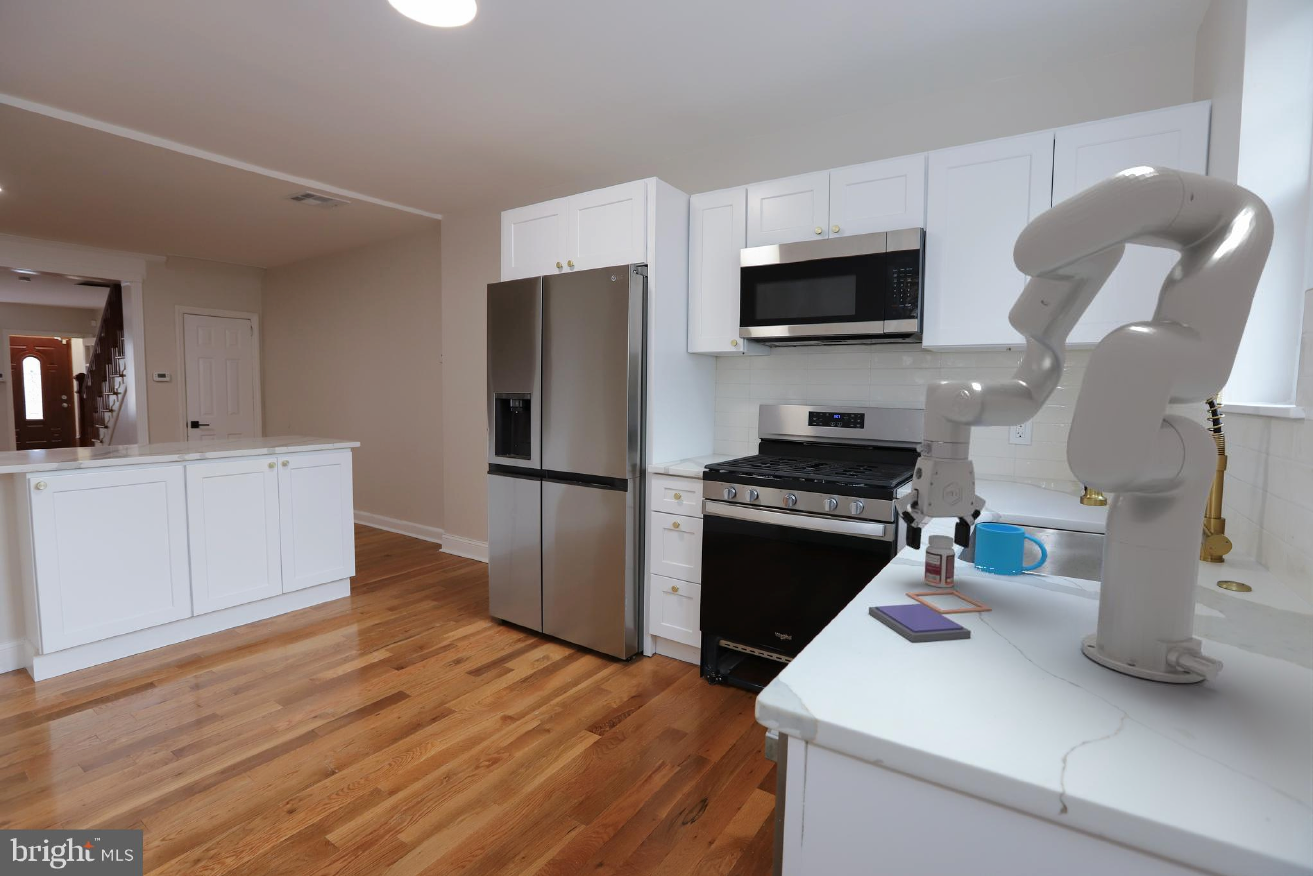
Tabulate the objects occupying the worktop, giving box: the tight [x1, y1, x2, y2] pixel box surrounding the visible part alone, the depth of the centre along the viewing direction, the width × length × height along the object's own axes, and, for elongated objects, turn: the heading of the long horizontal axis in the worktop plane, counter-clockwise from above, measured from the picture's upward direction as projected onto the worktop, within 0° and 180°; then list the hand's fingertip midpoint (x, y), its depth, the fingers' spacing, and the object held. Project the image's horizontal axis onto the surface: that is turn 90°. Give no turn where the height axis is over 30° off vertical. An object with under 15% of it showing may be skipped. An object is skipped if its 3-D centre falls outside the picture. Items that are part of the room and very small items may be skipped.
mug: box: [973, 522, 1048, 577], centre depth 120 cm, size 12×8×8 cm
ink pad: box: [868, 603, 972, 643], centre depth 91 cm, size 11×9×1 cm
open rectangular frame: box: [905, 589, 993, 615], centre depth 102 cm, size 9×9×1 cm
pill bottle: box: [924, 534, 956, 589], centre depth 111 cm, size 5×5×8 cm
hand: (937, 546), depth 112 cm, fingers open, 9 cm apart
